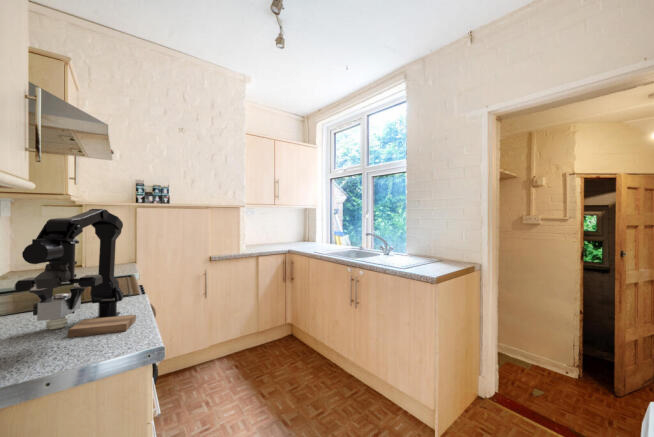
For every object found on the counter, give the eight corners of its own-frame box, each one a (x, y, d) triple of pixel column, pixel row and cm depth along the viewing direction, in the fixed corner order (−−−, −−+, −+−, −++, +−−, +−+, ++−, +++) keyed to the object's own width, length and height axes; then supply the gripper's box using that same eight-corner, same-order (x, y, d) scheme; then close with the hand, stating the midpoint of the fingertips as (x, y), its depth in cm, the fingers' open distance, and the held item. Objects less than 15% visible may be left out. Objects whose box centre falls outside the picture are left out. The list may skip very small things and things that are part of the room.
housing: (60, 309, 86) (60, 291, 86) (80, 307, 88) (81, 289, 88) (37, 320, 76) (37, 300, 76) (60, 318, 77) (61, 298, 77)
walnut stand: (83, 326, 97) (83, 319, 97) (135, 321, 102) (135, 314, 103) (68, 337, 88) (68, 329, 88) (126, 330, 93) (126, 323, 93)
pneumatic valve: (33, 330, 93) (34, 295, 93) (79, 321, 101) (80, 290, 101) (31, 335, 89) (33, 299, 89) (79, 325, 97) (80, 293, 97)
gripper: (-1, 264, 71) (-3, 323, 71) (86, 261, 78) (85, 315, 77) (29, 259, 82) (27, 310, 81) (103, 257, 88) (102, 304, 88)
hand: (60, 310), depth 82 cm, fingers closed on housing, 5 cm apart
